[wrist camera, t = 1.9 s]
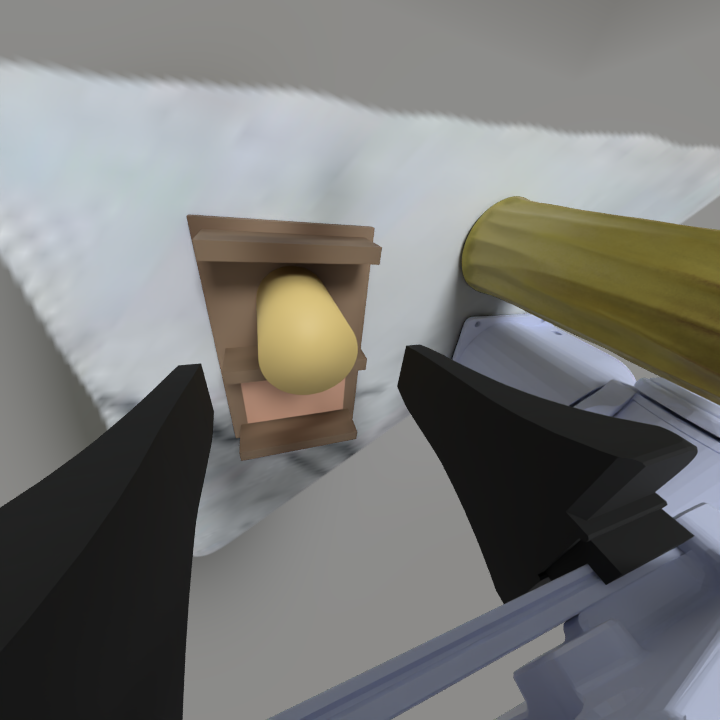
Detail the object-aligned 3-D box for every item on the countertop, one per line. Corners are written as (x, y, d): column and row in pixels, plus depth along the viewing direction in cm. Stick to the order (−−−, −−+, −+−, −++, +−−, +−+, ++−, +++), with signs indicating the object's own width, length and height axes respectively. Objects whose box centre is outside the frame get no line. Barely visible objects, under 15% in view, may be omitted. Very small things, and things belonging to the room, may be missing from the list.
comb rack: (371, 226, 15) (392, 236, 13) (350, 414, 23) (361, 441, 21) (188, 214, 12) (173, 224, 10) (236, 433, 20) (234, 467, 18)
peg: (328, 266, 15) (362, 309, 11) (326, 330, 17) (353, 388, 13) (252, 265, 14) (252, 313, 9) (260, 334, 16) (263, 400, 11)
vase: (504, 298, 21) (778, 436, 10) (444, 281, 19) (725, 442, 8) (553, 214, 19) (1005, 279, 7) (491, 180, 16) (1043, 203, 5)
